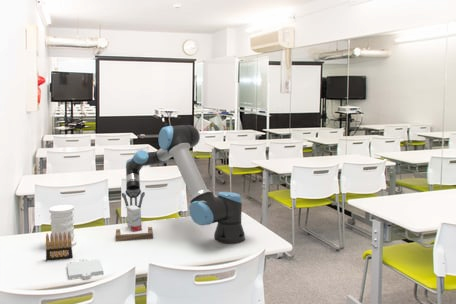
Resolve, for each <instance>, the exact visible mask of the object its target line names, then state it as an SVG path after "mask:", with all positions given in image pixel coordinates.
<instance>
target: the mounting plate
mask: <svg viewBox="0 0 456 304" xmlns="http://www.w3.org/2000/svg"><path fill="white" fill-rule="evenodd" d="M66 269H67V275H68V276H69V277H68V280H69V279H70V280H73V279H72V278H76V279H78V278H77V277H82V278H81V279H82V280H83V279H84V281H86V280H91V278H92V277H94V276H93V275H95V276H99V275H98V274H101V275H104V269H103V265H102V263H101V260H100V258H96V259H89V260H88V259H87V258H81V259H79V260H78V261H76V262H69V263H68V262H67V263H66Z"/></svg>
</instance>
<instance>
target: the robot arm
mask: <svg viewBox="0 0 456 304" xmlns="http://www.w3.org/2000/svg"><path fill="white" fill-rule="evenodd" d="M200 139H201V134H200V132H199V130H198V129H197V128H196V127H195V126H193V125H190V124H183V125H168V126H163V127H162V128H161V129H160V131H159V134H158V145H159V147H160V148H159V149H157V150H156V151H150V152H149V151H148V152H147V151H146V150H143V149H139V150H137V151H136V152H135V153H134V154H133V156H132V157H131V158H129V159H128V160H126V163H125V170H126V171H125V176H126V177H125V181H126V182H125V185H126V187H125V188H126V190H125V192H122V193H121V197H122V199H123V200H124V204H125V208H126V209H127V206H133V199H134V205H136V206H137V207H139V208H140V209H142V208H141V207H142V204H143V200H144V199H143V198H144V197H145V196H146V195H145V192H143V191H142V190H141V183H140V182H141V181H140V180H141V179H140V177H141V176H140V171H141V170H142V168H143V167H147V166H153V165H155V166H156V165H163V164H167V163H168V162H169V160H170V159H171V158H173V160H174V161H175V165H176V166H177V168H178V171H179V172H180V175H181V177H182V179H183V181H184V183H185V186H186V188H187V191H188V193H189V195H190V197H191V198H190V201H189V203H190V205H189V209H188V210H189V212H188V213H189V216H190V218H191V219H192V221H193V222H194V223H195V224H196V225H198V226H208V225H209V226H210V225H211V224H214V223H217V225H216V228H215V231H214V238H213V239H214V240H215V241H216V242H218V243H221V244H238V243H242V242H243V241H245V240H246V239H245V238H246V236H245V235H246V234H245V231H244V228H243V224H242V213H243V212H242V207H243V205H242V203H243V202H242V196H241V195H240V194H239V193H238V192H237V193H236V192H232V191H219V192H218V193H217V196H215V194H214V193H213V191H211V190H209V189H208V188H207V185H206V183H205V181H204V179H203V177H202V175H201V172H200V171H199V168H198V166H197V164H196V161H195V159H194V158H193V155H192V153H191V149H192V148H193V147H196V146H197V145H198V144H199V142H200ZM139 195H140V197H139ZM127 197H129V201H128V199H127ZM138 197H139V201H138Z"/></svg>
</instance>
